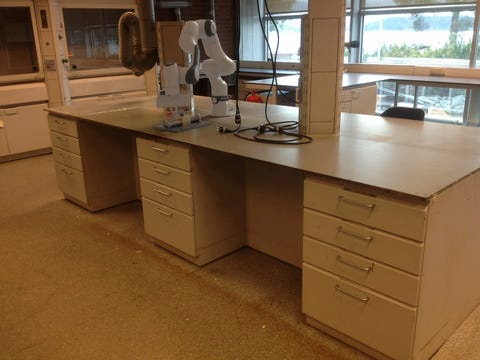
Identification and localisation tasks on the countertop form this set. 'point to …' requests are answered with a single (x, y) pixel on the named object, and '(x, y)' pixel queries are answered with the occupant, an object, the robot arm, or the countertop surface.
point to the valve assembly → (182, 123)
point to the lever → (180, 112)
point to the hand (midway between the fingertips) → (174, 114)
